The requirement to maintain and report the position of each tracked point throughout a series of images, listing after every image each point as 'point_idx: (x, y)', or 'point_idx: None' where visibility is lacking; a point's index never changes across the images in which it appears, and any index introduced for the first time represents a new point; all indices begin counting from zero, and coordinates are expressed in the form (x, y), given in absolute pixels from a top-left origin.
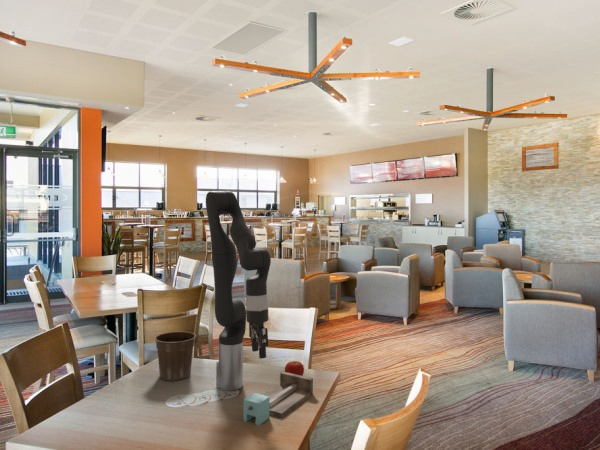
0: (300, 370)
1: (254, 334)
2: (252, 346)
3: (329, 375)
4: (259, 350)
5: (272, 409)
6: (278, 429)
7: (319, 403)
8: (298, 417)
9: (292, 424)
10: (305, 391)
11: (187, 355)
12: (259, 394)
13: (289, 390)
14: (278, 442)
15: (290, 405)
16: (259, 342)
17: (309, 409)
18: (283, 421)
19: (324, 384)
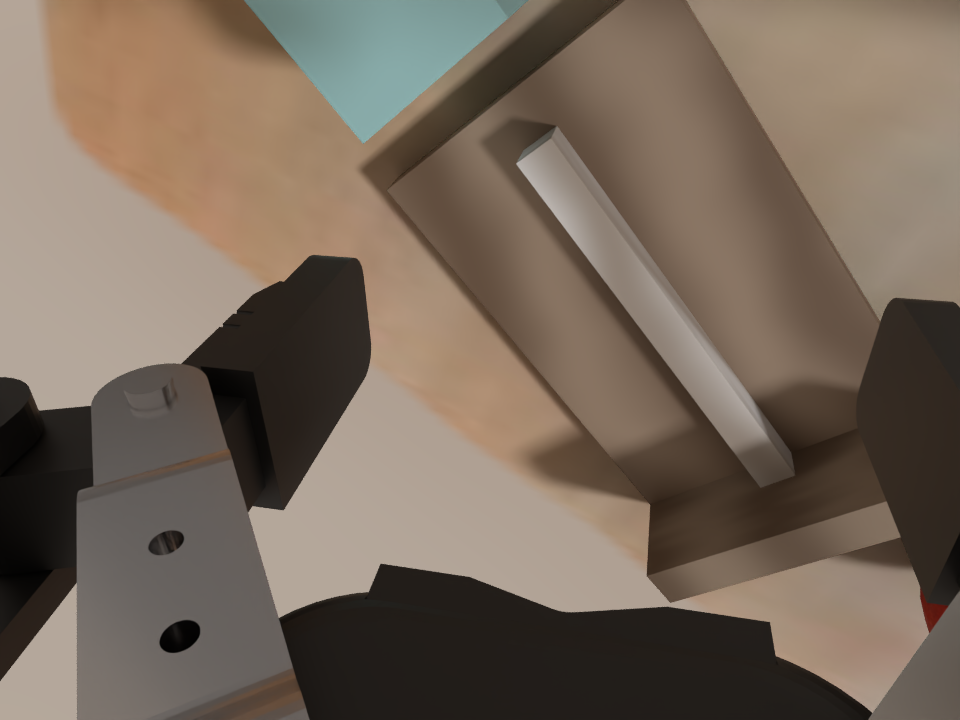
0: (931, 625)
1: (669, 687)
2: (932, 354)
3: None
4: (242, 328)
5: (472, 150)
6: (237, 88)
7: (523, 474)
8: (376, 284)
9: (291, 208)
10: (677, 487)
11: None
12: (443, 62)
13: (697, 400)
14: (68, 19)
15: (492, 302)
16: (96, 466)
17: (464, 390)
18: (344, 169)
19: (777, 626)
